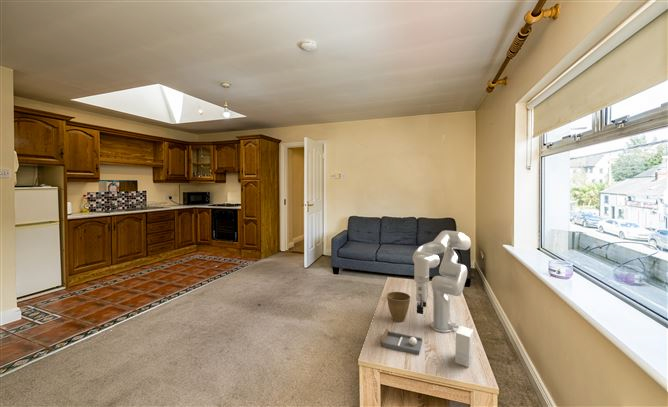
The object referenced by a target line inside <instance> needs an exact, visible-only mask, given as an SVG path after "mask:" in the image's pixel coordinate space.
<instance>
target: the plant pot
mask: <svg viewBox="0 0 668 407" xmlns="http://www.w3.org/2000/svg"><path fill="white" fill-rule="evenodd" d="M386 300H387V306H388V310H389V312H390V316H391V318H392V321H394V322H395V323H403V322H404V321H405V319H406V317H407V314H408V310H409V306H410V303H411V296H410V294H408V293H406V292H402V291H391V292H388V293H387V294H386Z"/></svg>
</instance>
